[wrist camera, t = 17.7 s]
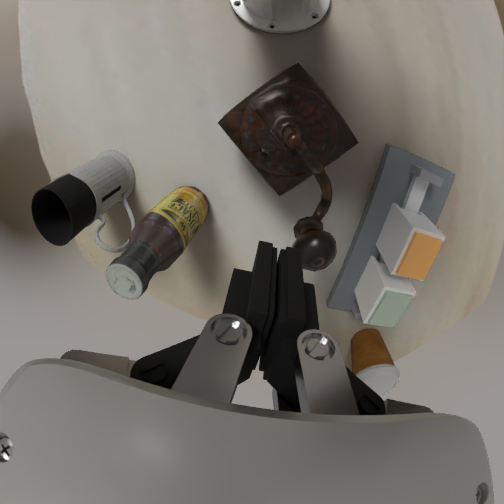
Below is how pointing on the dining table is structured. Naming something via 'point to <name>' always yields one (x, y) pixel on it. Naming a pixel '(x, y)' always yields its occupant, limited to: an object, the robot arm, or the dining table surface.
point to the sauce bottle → (157, 241)
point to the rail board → (364, 243)
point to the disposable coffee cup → (373, 361)
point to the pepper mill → (293, 148)
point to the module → (409, 243)
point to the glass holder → (84, 198)
